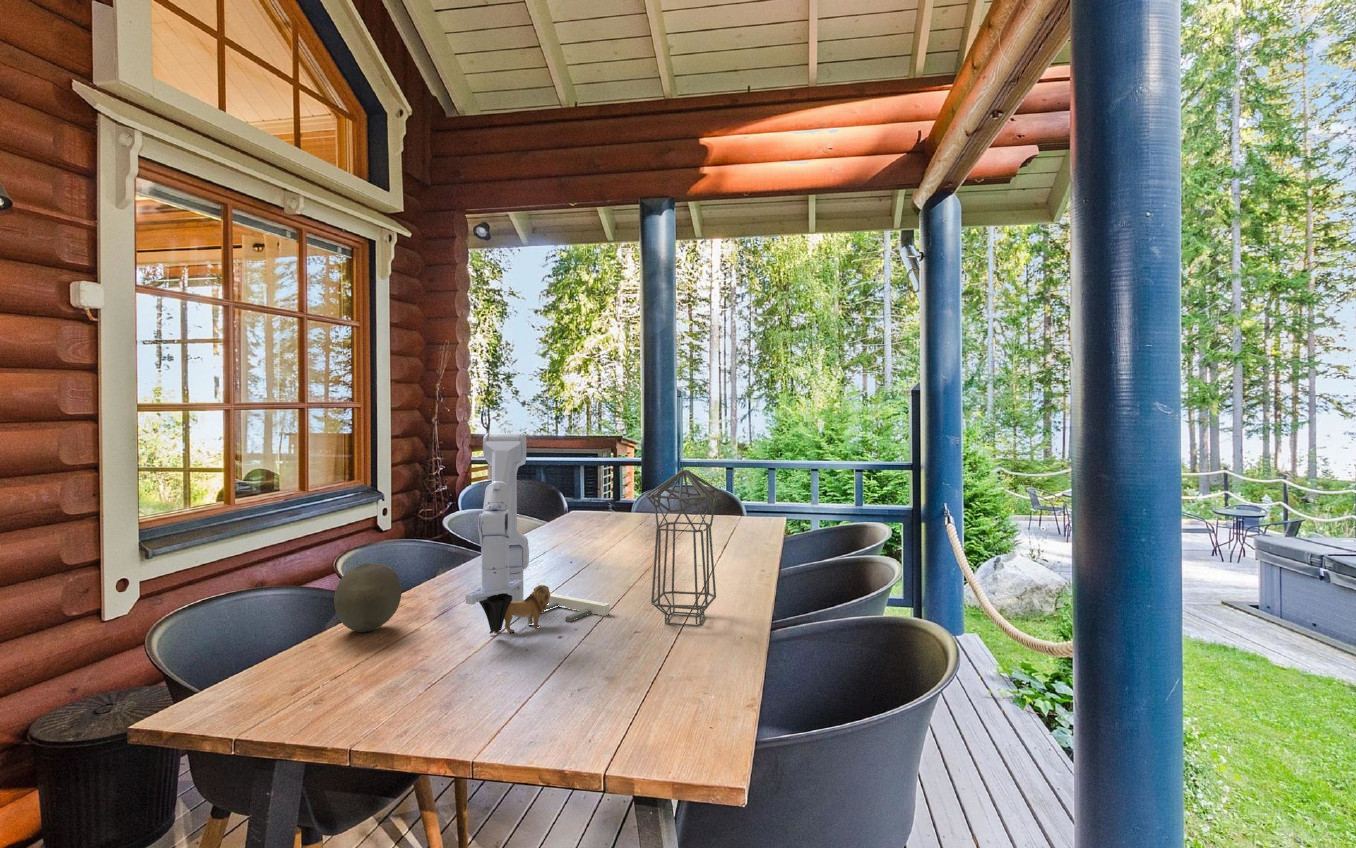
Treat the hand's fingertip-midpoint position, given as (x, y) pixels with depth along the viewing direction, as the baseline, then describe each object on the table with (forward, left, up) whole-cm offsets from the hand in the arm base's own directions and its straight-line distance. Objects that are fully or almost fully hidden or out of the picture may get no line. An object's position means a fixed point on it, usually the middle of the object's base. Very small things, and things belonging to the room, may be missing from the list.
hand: (495, 630), depth 142 cm
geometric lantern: (+28, +32, -2) cm, 43 cm away
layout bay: (0, +21, -2) cm, 21 cm away
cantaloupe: (-28, -11, -2) cm, 30 cm away
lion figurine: (0, +8, -2) cm, 9 cm away
